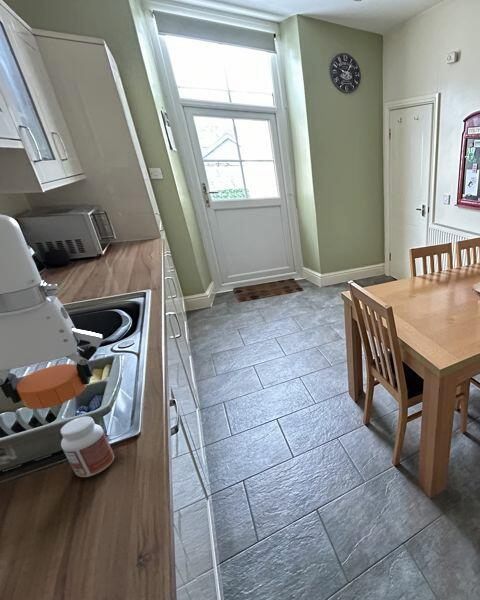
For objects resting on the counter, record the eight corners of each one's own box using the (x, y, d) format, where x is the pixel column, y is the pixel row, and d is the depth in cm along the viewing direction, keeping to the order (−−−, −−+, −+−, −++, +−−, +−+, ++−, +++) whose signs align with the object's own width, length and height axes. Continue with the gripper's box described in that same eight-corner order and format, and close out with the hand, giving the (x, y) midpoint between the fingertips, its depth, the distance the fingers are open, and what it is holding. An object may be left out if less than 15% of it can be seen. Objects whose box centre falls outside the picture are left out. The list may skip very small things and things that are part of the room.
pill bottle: (118, 449, 72) (102, 409, 67) (110, 471, 67) (92, 431, 62) (81, 458, 69) (62, 418, 65) (70, 483, 64) (48, 441, 60)
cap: (10, 409, 54) (0, 392, 52) (50, 379, 61) (43, 364, 59) (63, 408, 55) (55, 391, 53) (97, 378, 62) (91, 363, 60)
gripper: (89, 280, 58) (118, 362, 65) (-69, 300, 48) (-15, 395, 55) (86, 294, 53) (118, 382, 60) (-94, 320, 43) (-29, 423, 50)
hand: (54, 388), depth 57 cm, fingers closed on cap, 8 cm apart
